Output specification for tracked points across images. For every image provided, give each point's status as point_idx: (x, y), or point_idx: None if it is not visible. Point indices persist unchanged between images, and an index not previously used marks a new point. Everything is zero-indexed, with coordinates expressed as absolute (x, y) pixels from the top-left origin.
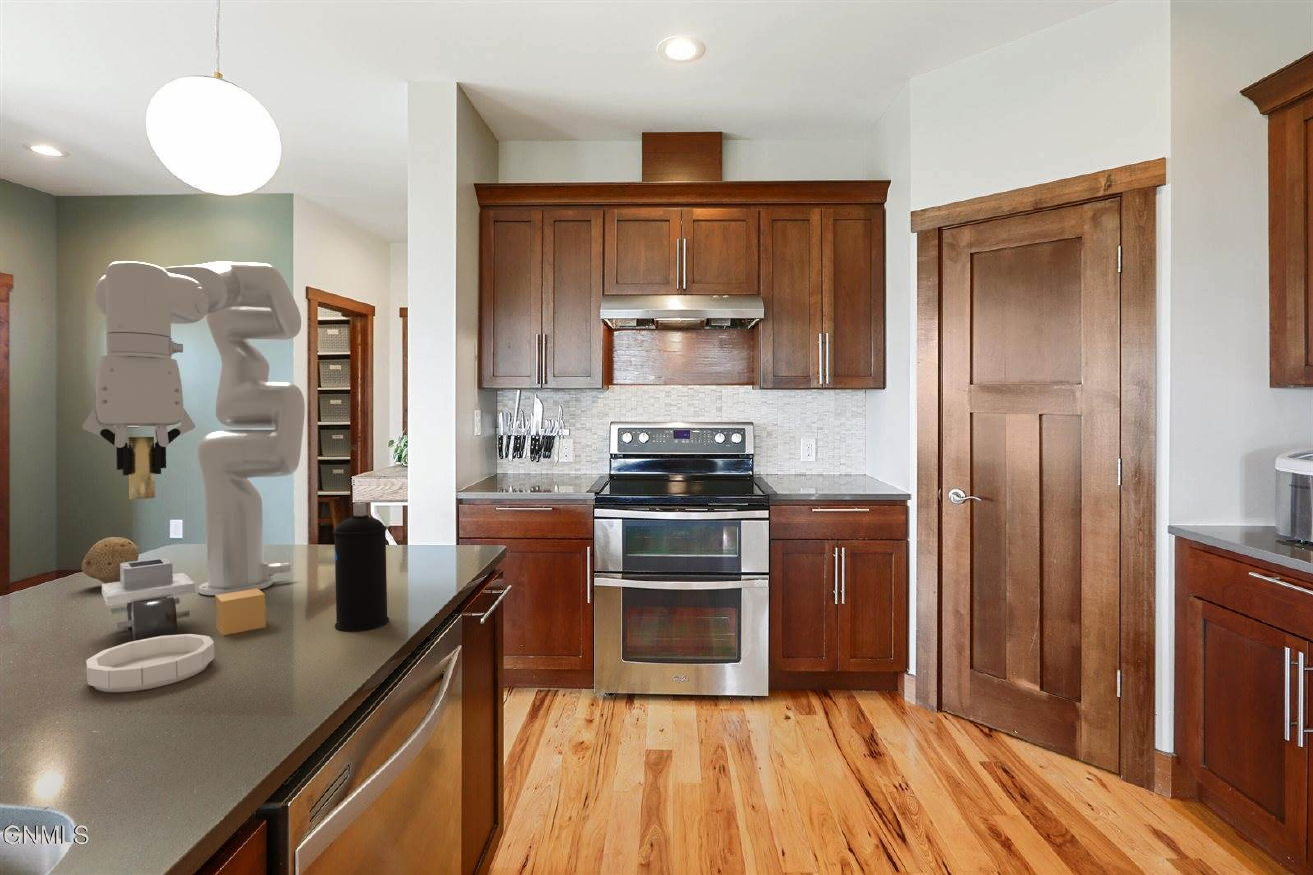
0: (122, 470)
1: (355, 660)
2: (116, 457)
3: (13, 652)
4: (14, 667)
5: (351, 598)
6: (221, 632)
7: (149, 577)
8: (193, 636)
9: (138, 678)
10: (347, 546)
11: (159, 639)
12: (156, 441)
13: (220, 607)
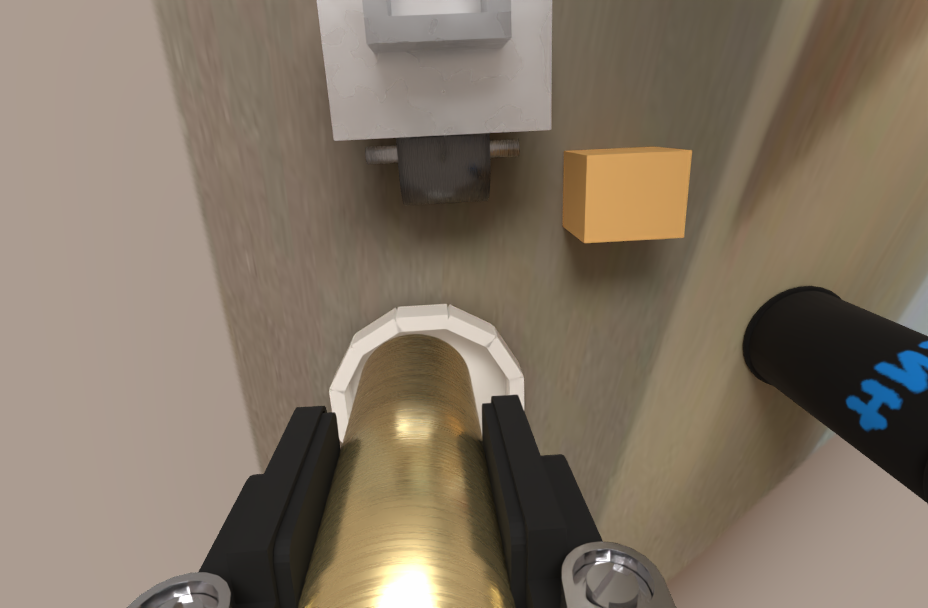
0: (292, 417)
1: (689, 515)
2: (221, 533)
3: (166, 35)
4: (199, 177)
5: (802, 407)
6: (563, 215)
7: (440, 46)
8: (499, 359)
9: None
10: (904, 483)
11: (444, 328)
12: (565, 598)
13: (579, 223)
